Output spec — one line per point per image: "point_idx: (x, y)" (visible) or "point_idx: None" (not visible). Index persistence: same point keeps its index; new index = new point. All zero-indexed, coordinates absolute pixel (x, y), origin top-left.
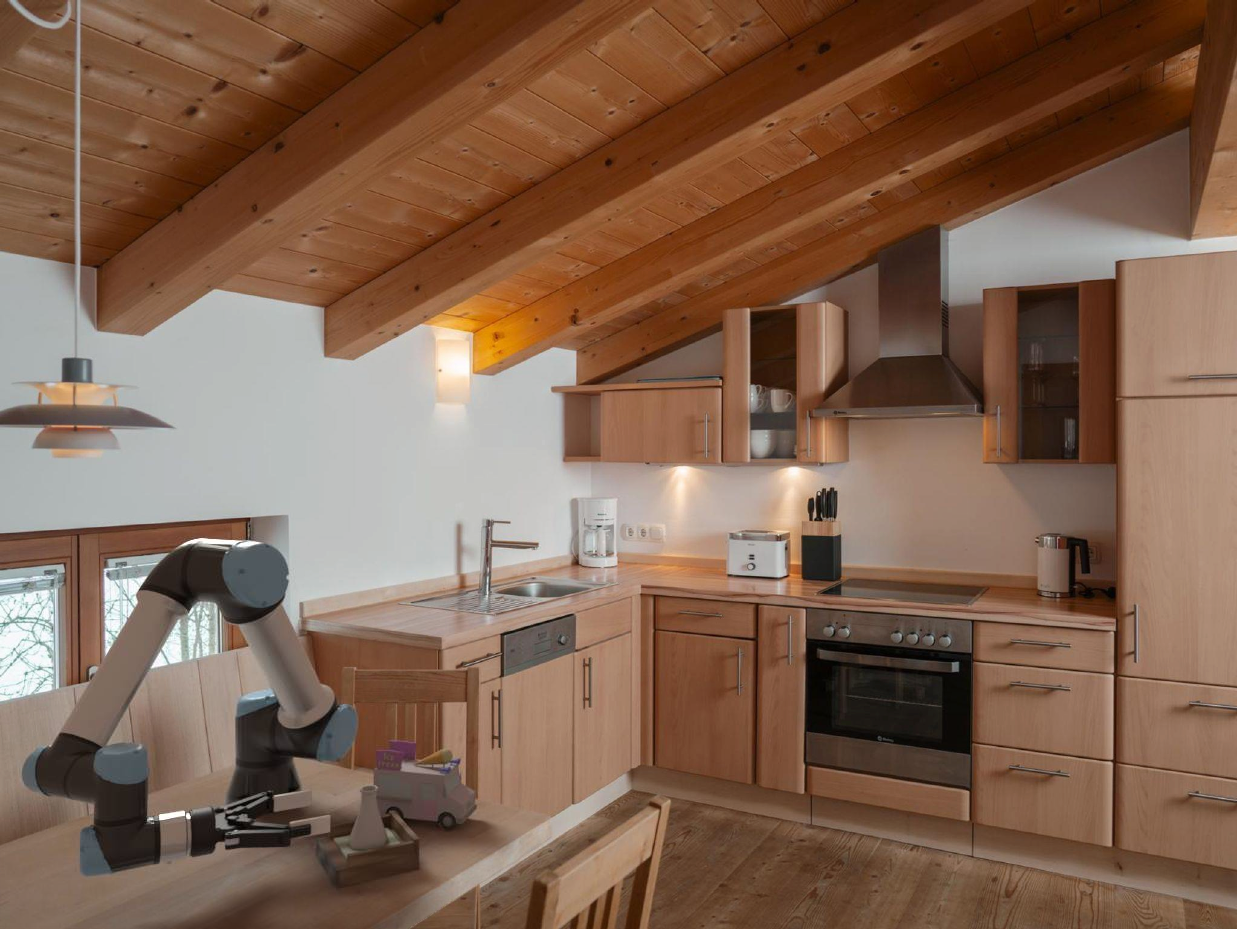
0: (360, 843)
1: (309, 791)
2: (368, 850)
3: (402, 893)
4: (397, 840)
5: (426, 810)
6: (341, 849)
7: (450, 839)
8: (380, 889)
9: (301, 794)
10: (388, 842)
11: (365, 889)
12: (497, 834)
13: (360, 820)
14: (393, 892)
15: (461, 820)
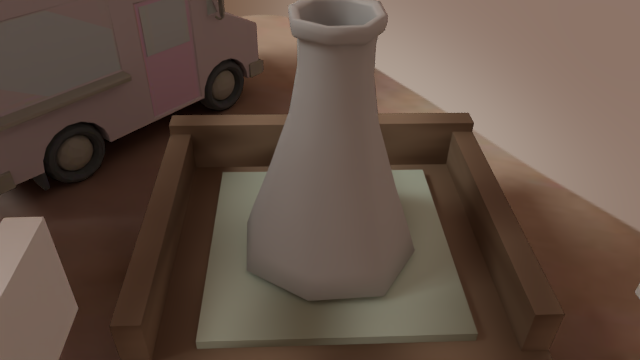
0: (394, 253)
1: (35, 235)
2: (510, 240)
3: (617, 261)
4: None
5: (171, 83)
6: (352, 336)
7: None
8: (579, 306)
9: (14, 303)
10: None
11: (573, 348)
12: None
13: (367, 174)
14: (608, 279)
15: (260, 64)
